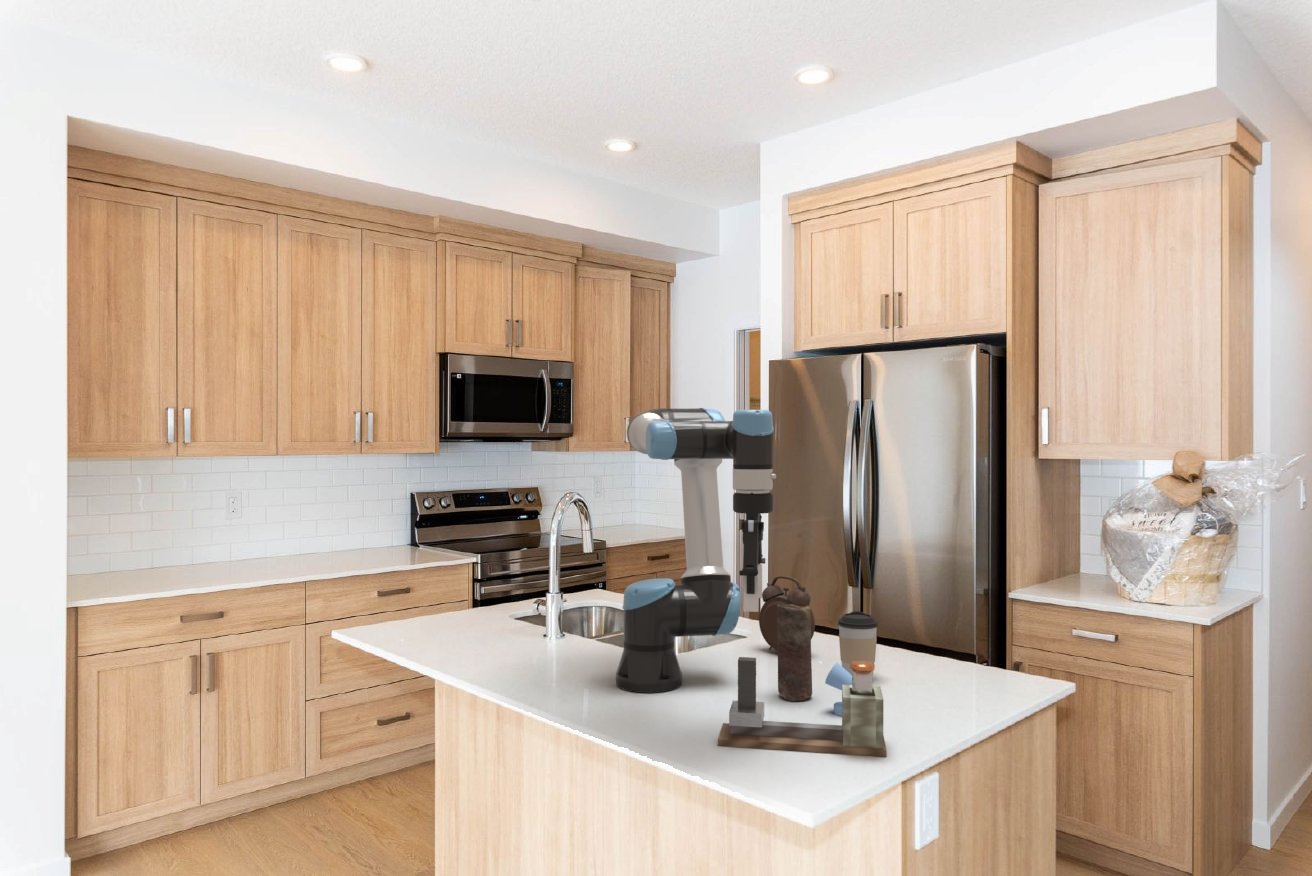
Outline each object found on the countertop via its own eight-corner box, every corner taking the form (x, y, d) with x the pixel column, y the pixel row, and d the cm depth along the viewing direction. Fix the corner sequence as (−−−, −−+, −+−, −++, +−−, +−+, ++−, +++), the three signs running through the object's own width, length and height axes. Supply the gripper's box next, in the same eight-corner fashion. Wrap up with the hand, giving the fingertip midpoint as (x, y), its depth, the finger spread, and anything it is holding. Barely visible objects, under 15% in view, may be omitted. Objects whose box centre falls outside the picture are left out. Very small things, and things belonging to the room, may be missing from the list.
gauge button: (850, 709, 158) (850, 666, 158) (849, 702, 163) (849, 660, 163) (875, 711, 158) (875, 667, 157) (873, 703, 162) (873, 661, 162)
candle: (770, 694, 192) (771, 602, 192) (799, 690, 195) (799, 600, 195) (789, 703, 185) (789, 609, 185) (818, 699, 188) (819, 606, 188)
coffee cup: (878, 685, 199) (878, 619, 199) (837, 682, 201) (837, 617, 201) (876, 674, 208) (876, 611, 208) (837, 672, 210) (837, 609, 209)
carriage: (729, 725, 161) (729, 663, 161) (732, 713, 168) (732, 653, 168) (761, 727, 160) (761, 664, 160) (764, 715, 167) (764, 655, 167)
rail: (717, 745, 161) (717, 691, 160) (723, 729, 169) (723, 677, 169) (886, 756, 155) (886, 700, 155) (882, 739, 164) (883, 685, 164)
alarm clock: (818, 656, 224) (818, 578, 224) (801, 661, 219) (801, 581, 219) (773, 646, 235) (773, 571, 235) (756, 650, 230) (756, 574, 230)
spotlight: (822, 713, 179) (855, 718, 176) (822, 664, 179) (855, 669, 175) (830, 706, 183) (863, 712, 180) (830, 659, 183) (863, 663, 180)
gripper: (770, 496, 152) (770, 618, 152) (775, 487, 177) (775, 593, 177) (727, 495, 153) (727, 617, 153) (737, 487, 178) (738, 591, 178)
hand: (753, 604), depth 165 cm, fingers open, 13 cm apart
